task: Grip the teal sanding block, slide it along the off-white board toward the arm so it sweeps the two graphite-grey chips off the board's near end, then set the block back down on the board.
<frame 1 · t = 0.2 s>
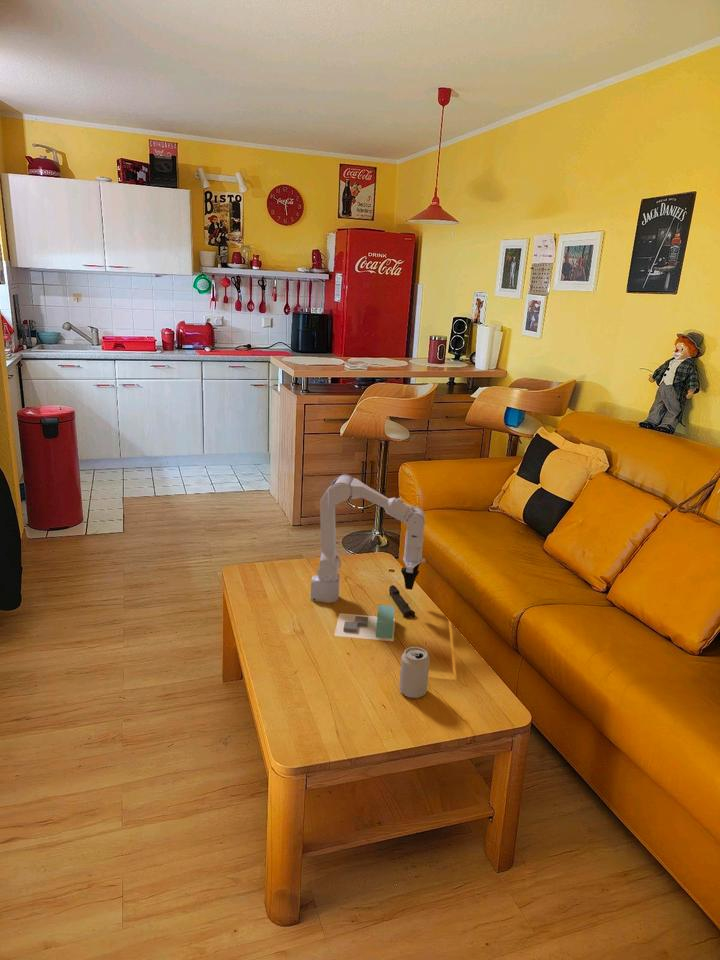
hand: (410, 583, 216), 10 cm above the table, tool pointing down, fingers open, 7 cm apart
hand tool: (397, 608, 221), on the table
sanding block: (384, 628, 205), point 1 cm above the table, touching board
board: (365, 631, 205), on the table
mark chip 2: (350, 628, 203), point 1 cm above the table, touching board
can: (412, 692, 177), on the table
mark chip 1: (361, 623, 207), point 1 cm above the table, touching board
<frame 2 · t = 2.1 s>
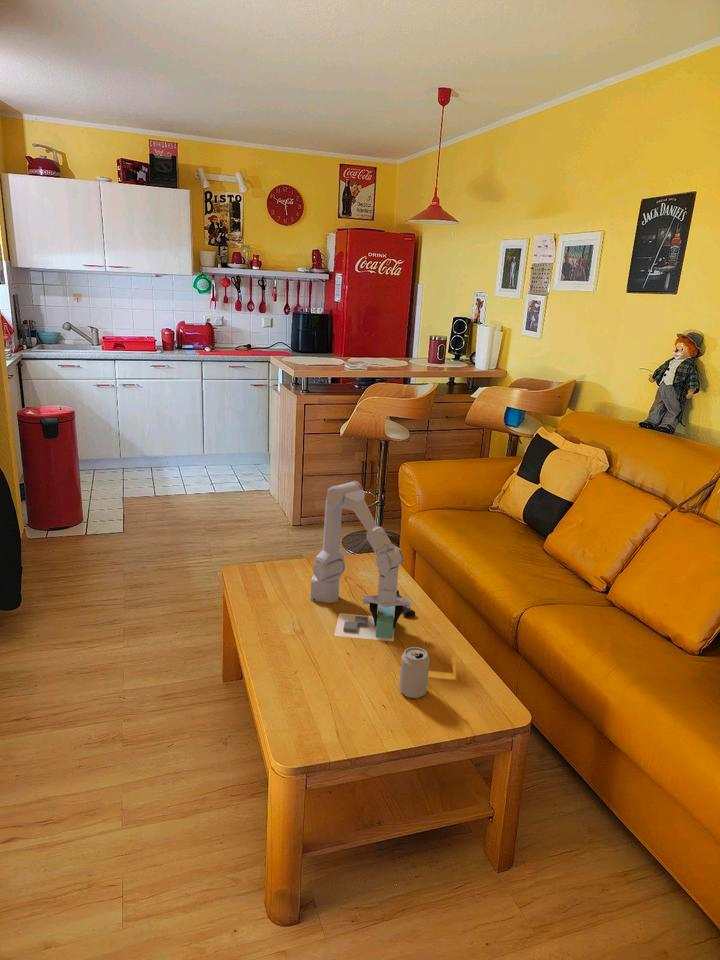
hand: (384, 625, 204), 2 cm above the table, tool pointing down, fingers closed on sanding block, 5 cm apart
sanding block: (384, 628, 205), point 1 cm above the table, touching board, gripper
everything else where it was.
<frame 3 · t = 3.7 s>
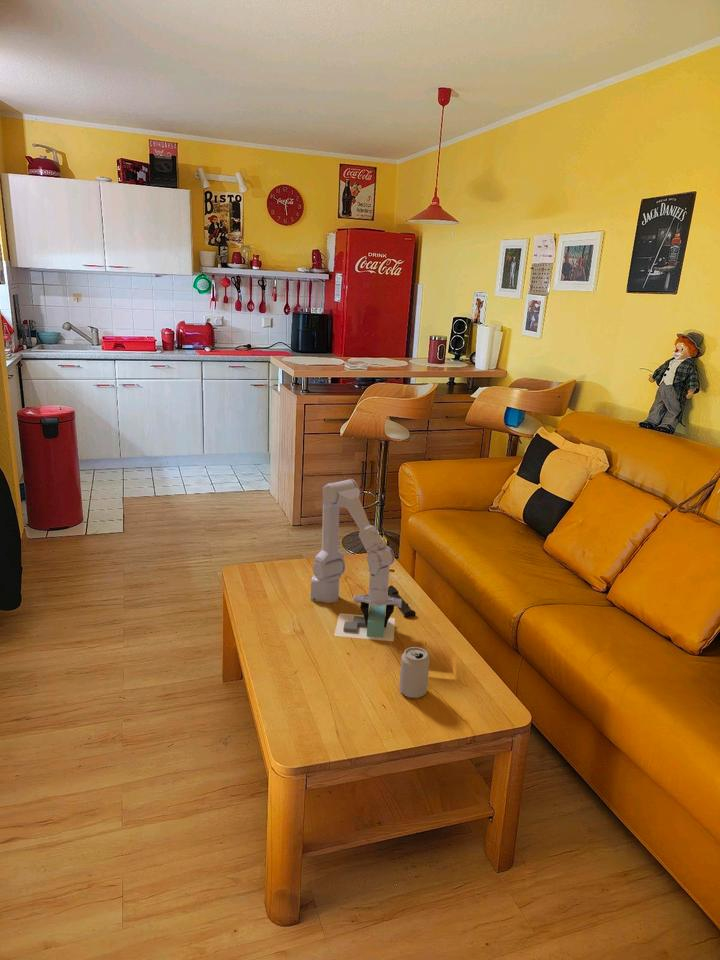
hand: (376, 625, 205), 2 cm above the table, tool pointing down, fingers closed on sanding block, 5 cm apart
sanding block: (375, 627, 205), point 2 cm above the table, touching gripper
mark chip 1: (359, 622, 207), point 2 cm above the table, touching gripper
everything else where it was.
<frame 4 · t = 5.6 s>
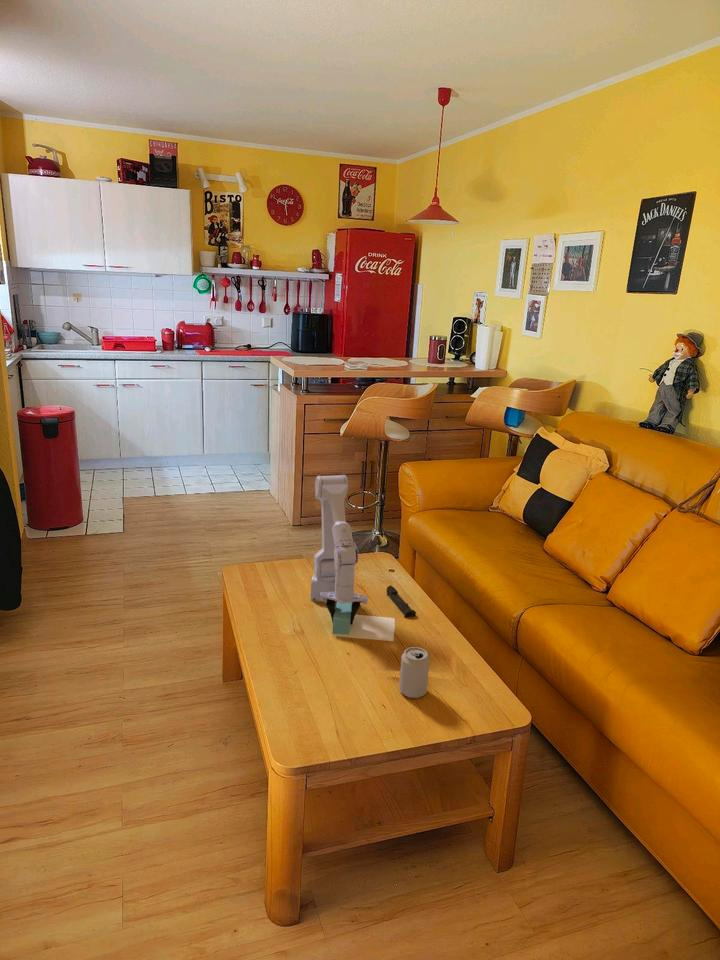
hand: (342, 622, 205), 2 cm above the table, tool pointing down, fingers closed on sanding block, 5 cm apart
sanding block: (342, 624, 205), point 2 cm above the table, touching gripper
mark chip 2: (327, 632, 204), on the table
mark chip 1: (329, 625, 209), on the table
everything else where it was.
when the fingers open (4 cm above the table, at t = 9.3 s): sanding block drops 1 cm, resting on board.
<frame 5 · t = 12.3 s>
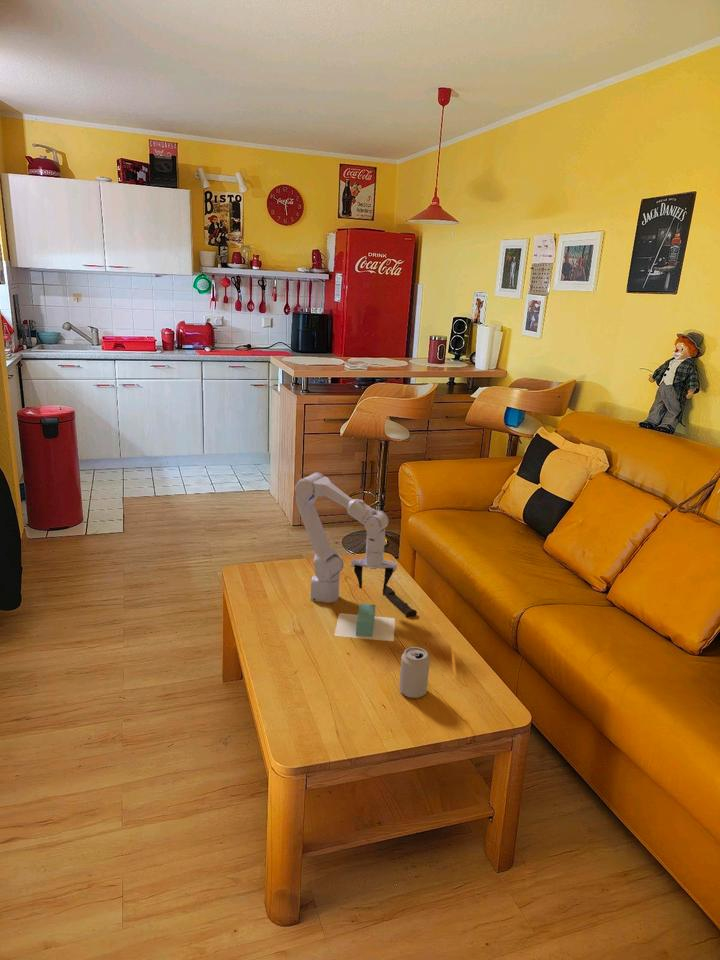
hand: (372, 588, 213), 9 cm above the table, tool pointing down, fingers open, 7 cm apart
sanding block: (365, 626, 205), point 1 cm above the table, touching board
at the end: mark chip 1 touching table; mark chip 2 touching table; sanding block inside the target area on the board (0.2 cm from its centre), point 1.5 cm above the board's base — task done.
